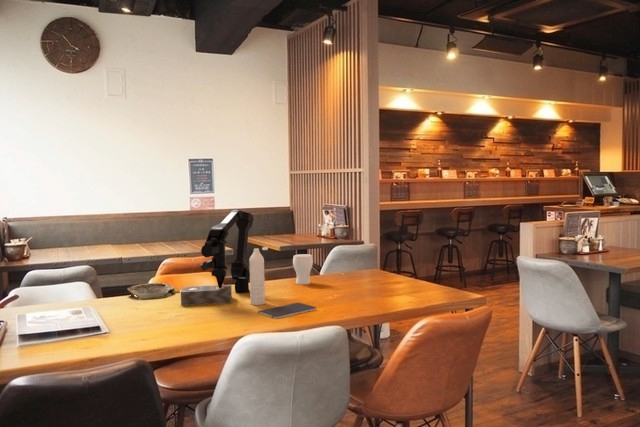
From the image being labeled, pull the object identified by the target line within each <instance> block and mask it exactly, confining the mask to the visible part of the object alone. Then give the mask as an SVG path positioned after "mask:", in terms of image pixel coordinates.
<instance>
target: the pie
mask: <svg viewBox="0 0 640 427" xmlns="http://www.w3.org/2000/svg"><path fill="white" fill-rule="evenodd" d="M127 291H128V292H129V293H130V294H131V297H133V298H135V296H134V295H136V296H137V297H138V298H141V300H144V299H147V300H152V299H153V300H154V299H155V298H160V297H159V296H161V297H162V299H165V298H167V297H169V295H170V296H172V294H177V293H180V290H179V289H177V290H175V288H174V286H173V285H172V284H168V283H166V282H164V283H163V282H152V283H151V282H150V283H149V282H148V283H141V284H136V285H135V284H134V285H131V286H130V287H127ZM170 292H171V293H170ZM164 295H166V296H164ZM154 297H155V298H154ZM164 297H165V298H164ZM138 298H137V299H138Z"/></svg>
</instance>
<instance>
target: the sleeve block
mask: <svg viewBox="0 0 640 427" xmlns="http://www.w3.org/2000/svg"><path fill="white" fill-rule="evenodd" d="M216 287H218V284H214V285H198V286H196V285H195V286H193V285H192V286H183V288H182V289H181V291H180V306H197V305H198V306H199V305H216V304H231V303H232V299H233V296H232V284H222V287H225V289H215V288H216ZM190 288H198V290H189V289H190Z"/></svg>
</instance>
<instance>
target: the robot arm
mask: <svg viewBox="0 0 640 427" xmlns="http://www.w3.org/2000/svg"><path fill="white" fill-rule="evenodd" d="M254 219H255V218H254V215H253V214H252V213H251V212H246V211H243V210H241V209H231V211H230V213H229V214H228V215H227V216H226V217H225V218H224V219H223V220H222V221H221V222H220V223H218V224H216V225H213V226H212V227H210V229H209V232H208V235H207V238H206V240H205V242H204V245H202V247H201V249H200V254H201V255H202V256H203V257H204V258H211V259H210V260H206V261H203V262H201V263H200V269H201V271H202V272H206V271H207V270H210V269H211V277H215V278H216V282H217V285H218V287H219V288H221V287H222V285H224V281H225V278H226V276H227V270H228V265H227V262H226V261H227V260H226V244H228V242H227V241H226V239H227V237H228V236H229V234H230V233H229V231H230V229H231V228H232V227H233V226H234V225H236V227H237V229H238V234H237V245H236V255H235V256H236V257H235V259H234V260H233V261H231V266H230V275H231V279H232V280H233V281H234V280H235V281H234V292H235V293H236V294H241V293H250V264H249V263H248V261H247V254H248V253H247V252H248V239H249V231H250V229H251V228H252V226H253V222H254Z"/></svg>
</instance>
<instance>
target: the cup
mask: <svg viewBox="0 0 640 427" xmlns="http://www.w3.org/2000/svg"><path fill="white" fill-rule="evenodd" d="M313 265H314V259H313V256H312V254H309V253H308V254H305V253H302V254H295V255H293V258H292V266H293V269H294V271H295V272H296V280H295V284H296V285H300V286H301V285H302V286H303V285H311V278H310V275H311V271H312V269H313Z"/></svg>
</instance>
